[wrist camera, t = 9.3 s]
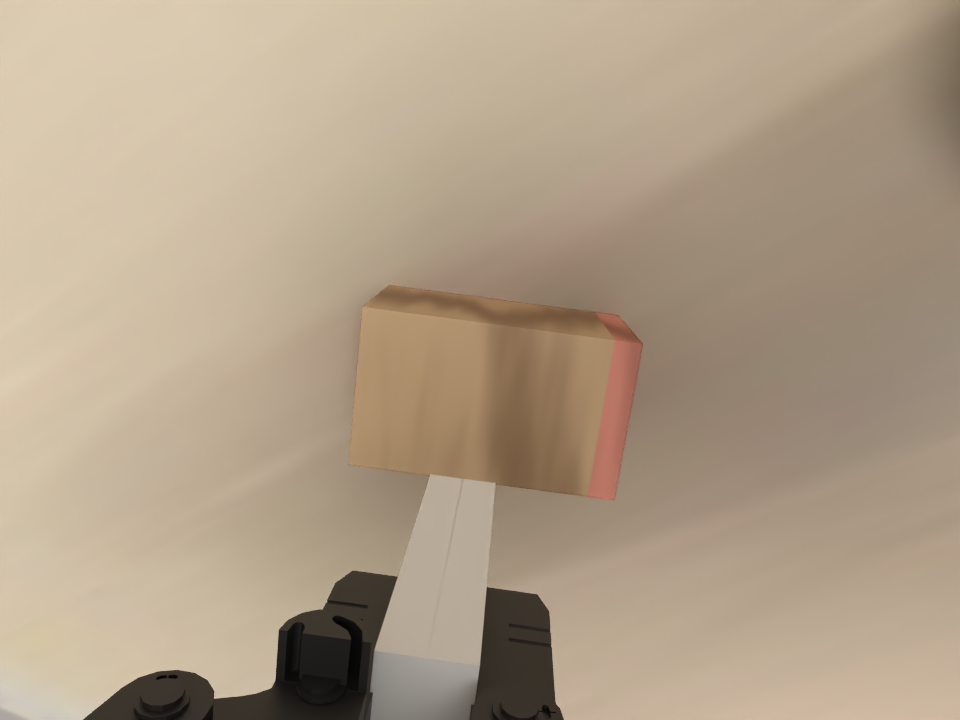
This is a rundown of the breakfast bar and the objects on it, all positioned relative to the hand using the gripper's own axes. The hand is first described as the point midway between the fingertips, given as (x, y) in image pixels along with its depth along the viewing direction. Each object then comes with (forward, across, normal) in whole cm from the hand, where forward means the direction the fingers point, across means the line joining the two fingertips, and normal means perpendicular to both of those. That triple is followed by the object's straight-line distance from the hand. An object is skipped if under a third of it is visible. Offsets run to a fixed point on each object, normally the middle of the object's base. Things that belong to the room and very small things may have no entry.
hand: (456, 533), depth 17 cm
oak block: (+13, -5, 0) cm, 14 cm away
